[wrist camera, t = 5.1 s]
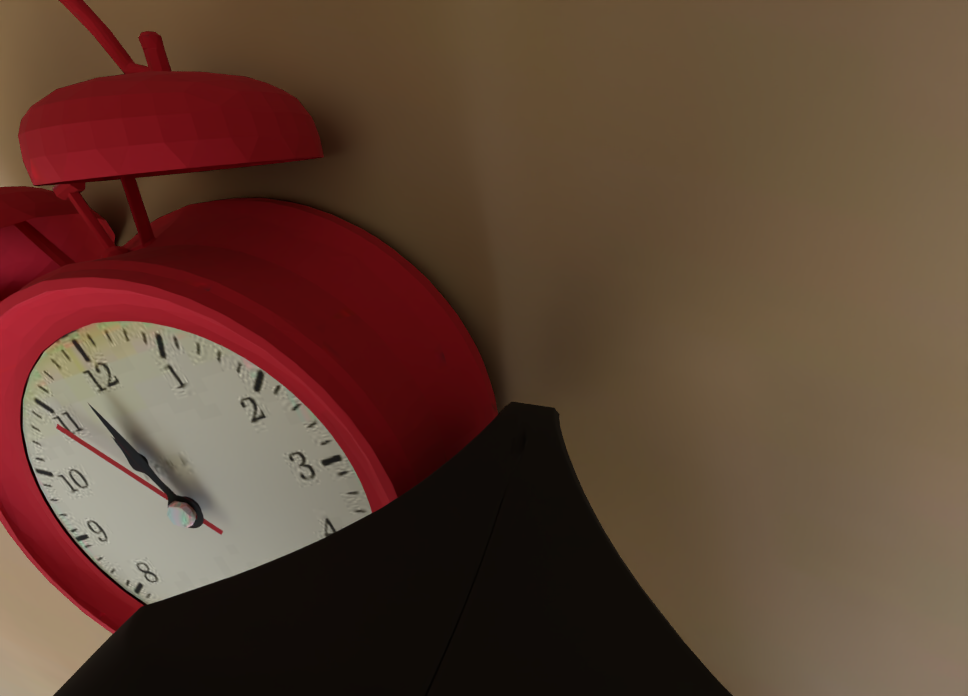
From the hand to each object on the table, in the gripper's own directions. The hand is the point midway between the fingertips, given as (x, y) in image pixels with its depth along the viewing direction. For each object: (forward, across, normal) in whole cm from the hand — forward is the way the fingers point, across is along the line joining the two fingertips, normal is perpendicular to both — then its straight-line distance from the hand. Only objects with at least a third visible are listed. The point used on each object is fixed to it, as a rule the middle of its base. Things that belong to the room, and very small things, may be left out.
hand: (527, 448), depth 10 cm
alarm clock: (+2, +7, 0) cm, 7 cm away
